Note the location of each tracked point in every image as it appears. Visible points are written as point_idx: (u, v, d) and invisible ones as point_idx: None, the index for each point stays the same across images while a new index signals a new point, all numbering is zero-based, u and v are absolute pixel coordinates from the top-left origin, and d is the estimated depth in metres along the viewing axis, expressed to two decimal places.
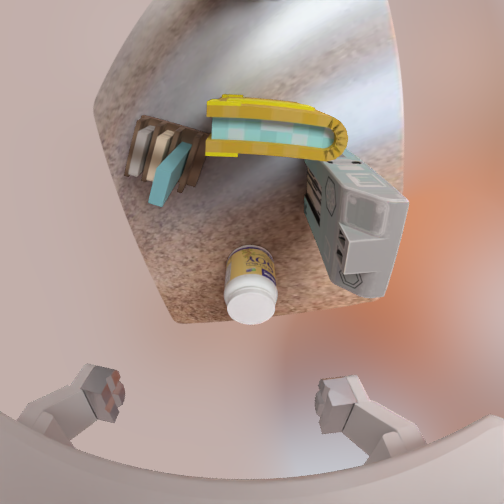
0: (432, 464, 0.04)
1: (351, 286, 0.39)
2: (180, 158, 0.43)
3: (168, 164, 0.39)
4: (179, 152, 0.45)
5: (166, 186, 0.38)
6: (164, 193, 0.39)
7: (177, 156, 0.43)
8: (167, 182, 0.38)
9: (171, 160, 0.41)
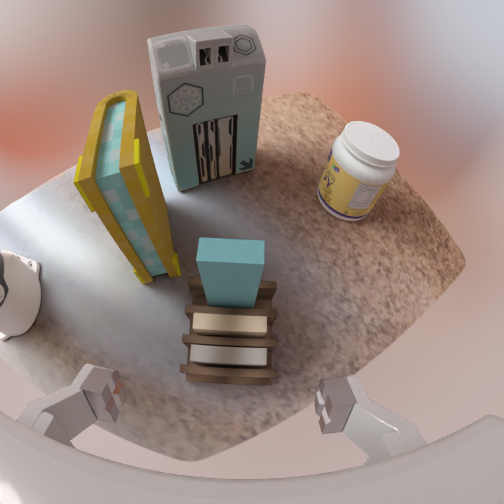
0: (432, 464, 0.04)
1: (252, 41, 0.32)
2: None
3: None
4: None
5: (225, 240, 0.25)
6: (238, 240, 0.25)
7: None
8: (217, 239, 0.25)
9: None
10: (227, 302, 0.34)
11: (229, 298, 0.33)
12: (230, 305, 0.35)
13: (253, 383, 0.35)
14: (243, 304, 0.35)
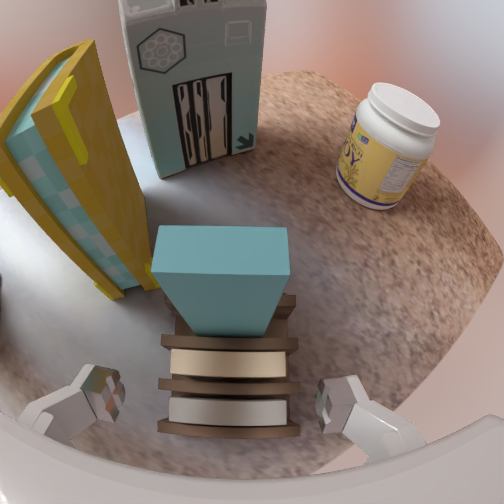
0: (432, 464, 0.04)
1: None
2: None
3: None
4: None
5: (208, 229, 0.12)
6: (234, 229, 0.12)
7: None
8: (193, 228, 0.12)
9: None
10: (223, 331, 0.22)
11: (224, 327, 0.20)
12: (228, 334, 0.23)
13: None
14: (248, 332, 0.22)
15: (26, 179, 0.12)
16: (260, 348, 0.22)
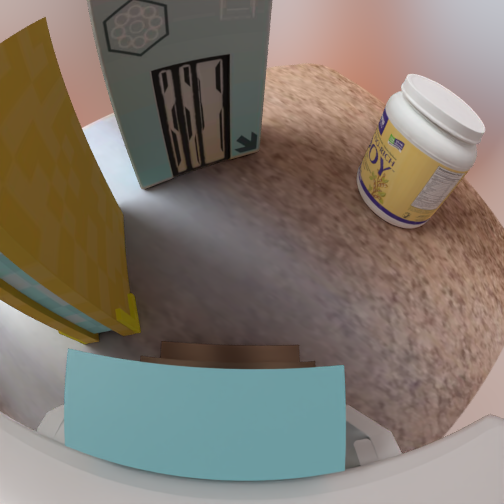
0: (432, 464, 0.04)
1: None
2: None
3: None
4: None
5: (165, 372, 0.05)
6: (224, 377, 0.05)
7: None
8: (132, 368, 0.05)
9: None
10: None
11: None
12: None
13: None
14: None
15: None
16: None
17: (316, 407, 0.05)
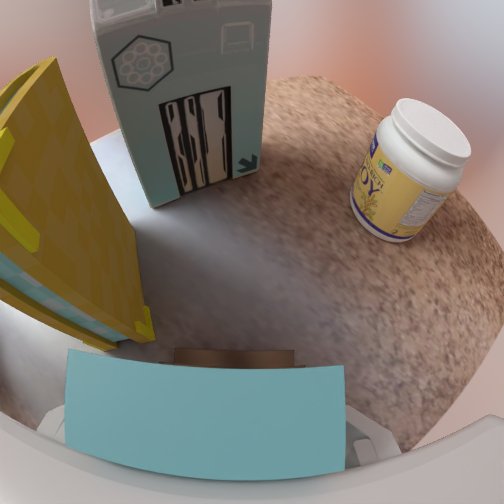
0: (432, 464, 0.04)
1: None
2: None
3: None
4: None
5: (165, 372, 0.05)
6: (224, 377, 0.05)
7: None
8: (132, 368, 0.05)
9: None
10: None
11: None
12: None
13: None
14: None
15: None
16: None
17: (316, 407, 0.05)
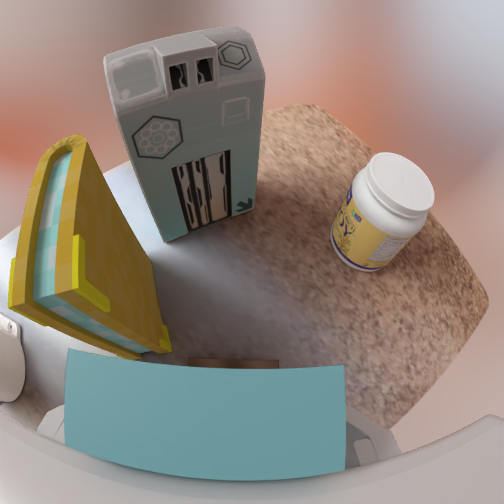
0: (432, 464, 0.04)
1: (246, 49, 0.23)
2: None
3: None
4: None
5: (165, 372, 0.05)
6: (225, 377, 0.05)
7: None
8: (132, 368, 0.05)
9: None
10: None
11: None
12: None
13: None
14: None
15: (57, 316, 0.16)
16: None
17: (316, 407, 0.05)
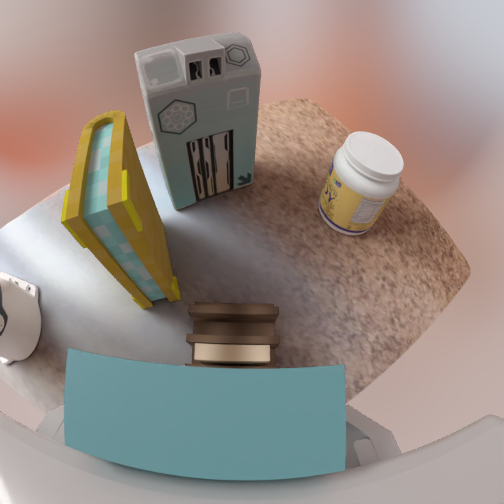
0: (432, 464, 0.04)
1: (246, 51, 0.30)
2: None
3: None
4: None
5: (165, 372, 0.05)
6: (225, 377, 0.05)
7: None
8: (132, 368, 0.05)
9: None
10: None
11: None
12: None
13: None
14: None
15: (97, 237, 0.24)
16: (254, 343, 0.33)
17: (316, 406, 0.05)
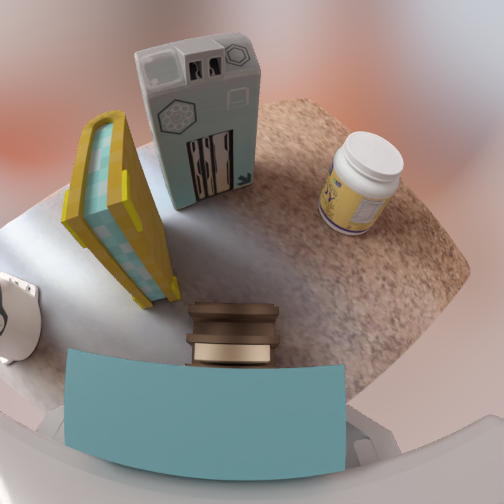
0: (432, 464, 0.04)
1: (246, 51, 0.30)
2: None
3: None
4: None
5: (165, 372, 0.05)
6: (224, 377, 0.05)
7: None
8: (132, 368, 0.05)
9: None
10: None
11: None
12: None
13: None
14: None
15: (97, 237, 0.24)
16: (254, 342, 0.33)
17: (316, 407, 0.05)
